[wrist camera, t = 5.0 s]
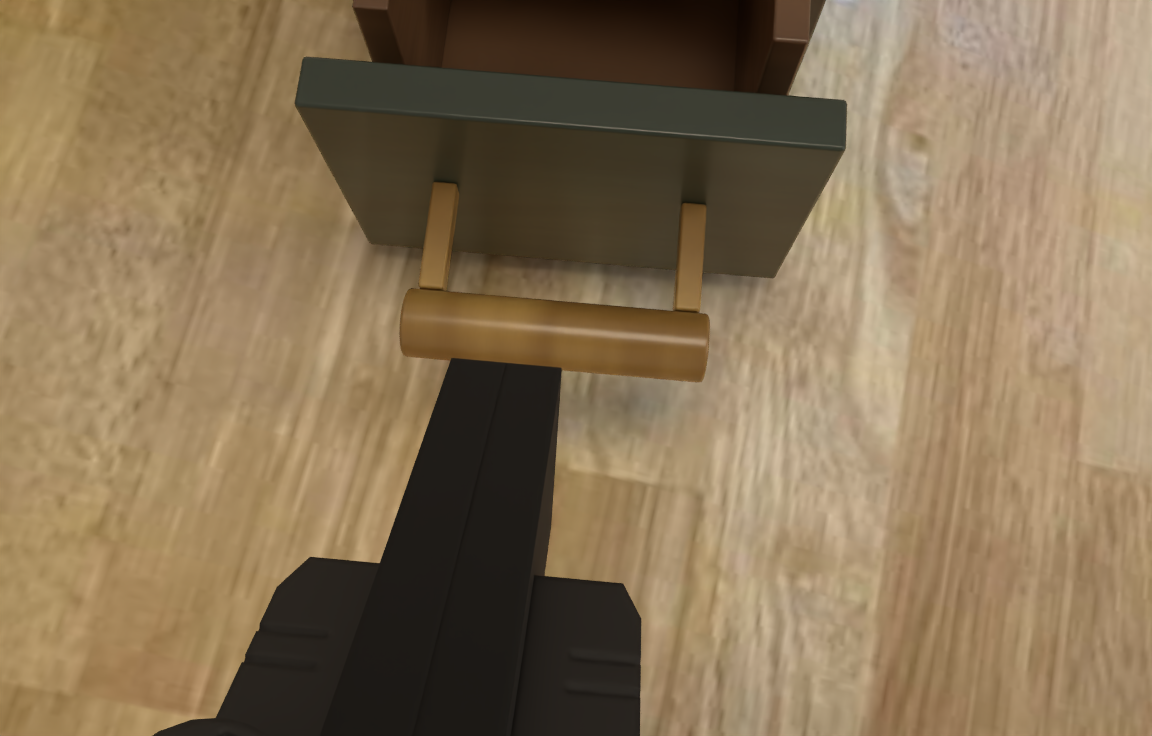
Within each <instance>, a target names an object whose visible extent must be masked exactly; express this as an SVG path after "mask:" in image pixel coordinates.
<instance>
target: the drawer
mask: <svg viewBox="0 0 1152 736" xmlns="http://www.w3.org/2000/svg"><path fill="white" fill-rule="evenodd" d="M810 1H811V0H353V5H352V7H353V10H354V13H355V15H356V18H357V21H358V23H359V26H360V29H361V32H362V34H363V37H364V40H365V43H366V45H367V48H368V51H369V54H370V56H371V59H372V62H367V61H355V60H342V59H330V58H318V57H304V58H303V60H302V66H301V71H300V77H299V82H298V88H297V93H296V99H295V106H296V108H297V110H298V112H299V113H300V115H301V117H302V119H303V121H304V123H305V124H306V126H307V128H308V130H309V132H310V134H311V136H312V137H313V139H314V141H315V143H316V145H317V147H318V148H319V150H320V152H321V154H322V156H323V158H324V160H325V161H326V163H327V165H328V167H329V169H330V171H331V172H332V174H333V176H334V178H335V180H336V182H337V184H338V185H339V187H340V189H341V191H342V193H343V195H344V196H345V198H346V200H347V202H348V204H349V206H350V208H351V209H352V211H353V213H354V215H355V217H356V219H357V220H358V222H359V224H360V226H361V228H362V230H363V232H364V233H365V235H366V237H367V239H368V241H369V243H371V244H379V245H391V246H402V247H414V248H423V254H422V262H421V269H420V276H419V283H418V285H419V288H420V289H414V288H411V289H409V290H408V291H407V293H406V295H405V297H404V301H403V305H402V310H401V317H400V346H401V351H402V353H403V355H405V356H407V357H418V358H429V359H440V360H451V358H459V359H470V360H481V361H493V362H504V363H515V364H526V365H537V366H548V367H560V368H562V370H564V371H576V372H587V373H598V374H610V375H621V376H632V377H643V378H655V379H666V380H677V381H688V382H702V381H703V379H704V376H705V371H706V366H707V359H708V350H709V336H710V321H709V317H708V315H707V314H702V313H699V311H700V304H701V289H702V273H703V272H705V273H717V274H729V275H740V276H752V277H764V278H774V277H775V276H776V274H777V272H778V270H779V268H780V266H781V265H782V263H783V261H784V259H785V257H786V256H787V254H788V252H789V250H790V248H791V247H792V245H793V243H794V241H795V239H796V238H797V236H798V234H799V232H800V230H801V229H802V227H803V225H804V223H805V221H806V220H807V218H808V216H809V214H810V212H811V211H812V209H813V207H814V205H815V203H816V202H817V200H818V198H819V196H820V194H821V193H822V191H823V189H824V187H825V185H826V184H827V182H828V180H829V178H830V176H831V175H832V173H833V171H834V169H835V167H836V165H837V164H838V162H839V160H840V158H841V156H842V155H843V153H844V151H845V149H846V124H847V103H846V101H844V100H837V99H824V98H812V97H799V96H788V94H789V92H790V89H791V87H792V84H793V82H794V79H795V76H796V74H797V71H798V69H799V66H800V64H801V61H802V59H803V56H804V53H805V51H806V48H807V46H808V43H809V27H810ZM452 251H461V252H472V253H484V254H496V255H507V256H519V257H531V258H542V259H554V260H565V261H577V262H589V263H600V264H612V265H624V266H635V267H647V268H659V269H670V270H676V273H675V287H674V301H673V311H668V310H656V309H645V308H633V307H622V306H610V305H599V304H587V303H576V302H564V301H552V300H541V299H529V298H518V297H506V296H495V295H483V294H472V293H460V292H449V291H447V283H448V276H449V268H450V261H451V253H452Z"/></svg>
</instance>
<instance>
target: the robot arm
mask: <svg viewBox="0 0 1152 736" xmlns="http://www.w3.org/2000/svg"><path fill="white" fill-rule="evenodd" d="M561 372H562V368H560V367H548V366H537V365H526V364H515V363H504V362H493V361H481V360H470V359H459V358H451V361H450V364H449V367H448V369H447V372H446V375H445V378H444V381H443V384H442V387H441V389H440V392H439V395H438V398H437V401H436V404H435V407H434V410H433V412H432V415H431V418H430V421H429V424H428V427H427V430H426V432H425V435H424V438H423V441H422V444H421V447H420V450H419V453H418V455H417V458H416V461H415V464H414V467H413V470H412V473H411V475H410V478H409V481H408V484H407V487H406V490H405V493H404V496H403V498H402V501H401V504H400V507H399V510H398V513H397V516H396V518H395V521H394V524H393V527H392V530H391V533H390V536H389V539H388V541H387V544H386V547H385V550H384V553H383V556H382V559H381V561H380V563H370V562H359V561H349V560H338V559H327V558H317V557H309V558H308V559H307V560H306V561H305V562H304V563H303V564H302V565H301V566H300V567H298V568H297V569H296V570H295V571H294V572H293V573H292V574H291V575H290V576H289V577H287V578H286V579H285V580H284V581H283V582H282V583H281V584H280V585H279V586H278V587H277V588H276V590H275V592H274V594H273V597H272V599H271V601H270V603H269V605H268V607H267V609H266V612H265V614H264V616H263V618H262V620H261V622H260V628H259V631H256V633H255V635H254V637H253V639H252V642H251V644H250V646H249V648H248V650H247V652H246V654H245V661H244V662H242V663H241V665H240V667H239V669H238V672H237V674H236V676H235V678H234V680H233V682H232V684H231V687H230V689H229V691H228V693H227V695H226V697H225V699H224V702H223V704H222V706H221V708H220V710H219V712H218V714H217V717H216V718H211V719H195V720H190V721H187V722H184V723H181V724H178V725H176V726H173V727H170V728H167V729H164V730H161V731H159V732H157V733H156V734H154V735H153V736H640V681H641V665H640V660H641V617H640V615H639V614H638V612H637V610H636V608H635V606H634V604H633V602H632V600H631V598H630V596H629V594H628V592H627V590H626V588H625V586H624V585H623V584H622V583H612V582H601V581H590V580H580V579H569V578H559V577H548V576H544V574H545V567H546V559H547V552H548V545H549V537H550V530H551V519H552V504H553V490H554V475H555V460H556V445H557V431H558V416H559V401H560V387H561Z"/></svg>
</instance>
